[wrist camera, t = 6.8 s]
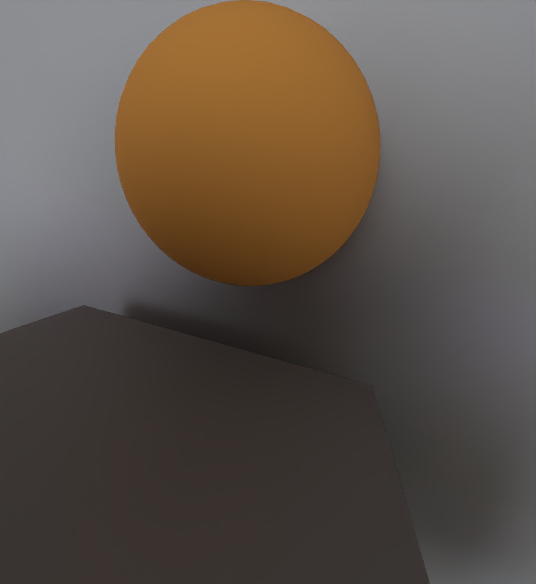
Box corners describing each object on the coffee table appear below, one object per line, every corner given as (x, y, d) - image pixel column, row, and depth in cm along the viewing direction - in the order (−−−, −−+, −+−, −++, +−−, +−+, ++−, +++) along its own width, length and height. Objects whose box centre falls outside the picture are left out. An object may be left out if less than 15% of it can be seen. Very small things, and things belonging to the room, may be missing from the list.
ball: (468, 0, 3) (408, 45, 7) (1, -79, 4) (190, 4, 8) (328, 370, 6) (342, 251, 10) (69, 295, 6) (183, 211, 11)
